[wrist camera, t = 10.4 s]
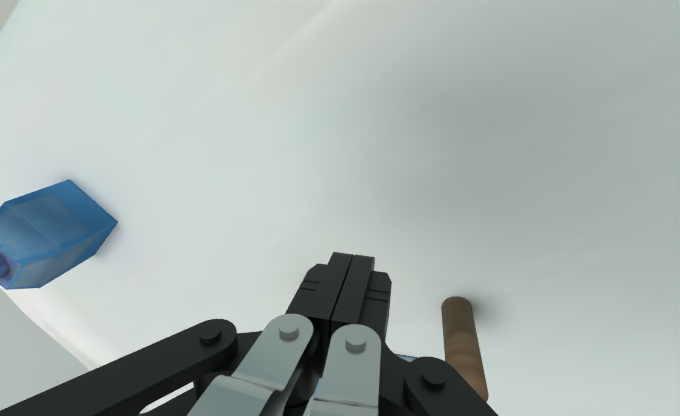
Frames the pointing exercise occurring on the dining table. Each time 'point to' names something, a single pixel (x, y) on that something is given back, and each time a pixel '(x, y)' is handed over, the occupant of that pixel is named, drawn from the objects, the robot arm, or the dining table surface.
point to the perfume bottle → (49, 234)
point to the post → (463, 343)
